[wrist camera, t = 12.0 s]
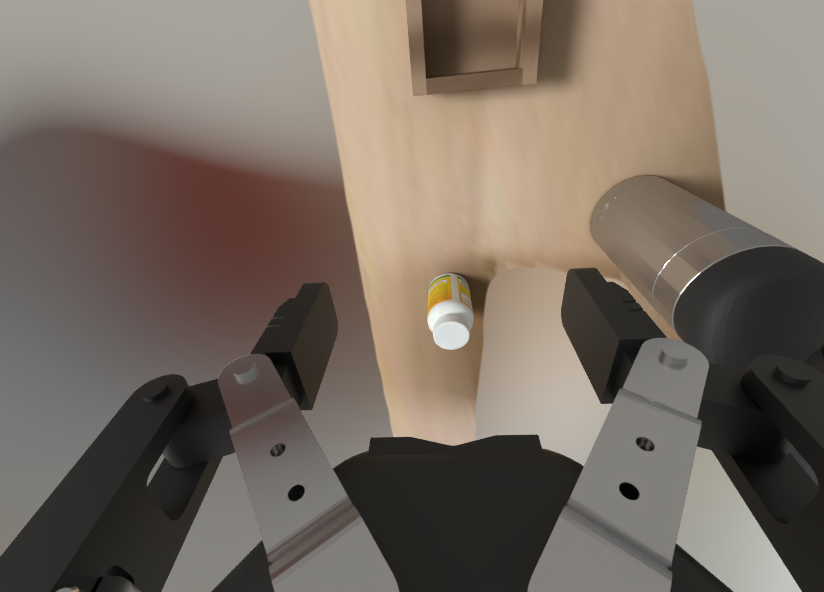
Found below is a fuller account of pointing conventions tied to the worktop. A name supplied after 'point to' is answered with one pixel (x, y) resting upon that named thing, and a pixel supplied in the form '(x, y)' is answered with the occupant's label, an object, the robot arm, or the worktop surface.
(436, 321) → the supplement bottle
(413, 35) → the wooden divided tray
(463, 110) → the worktop surface
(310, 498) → the robot arm
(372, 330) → the worktop surface
